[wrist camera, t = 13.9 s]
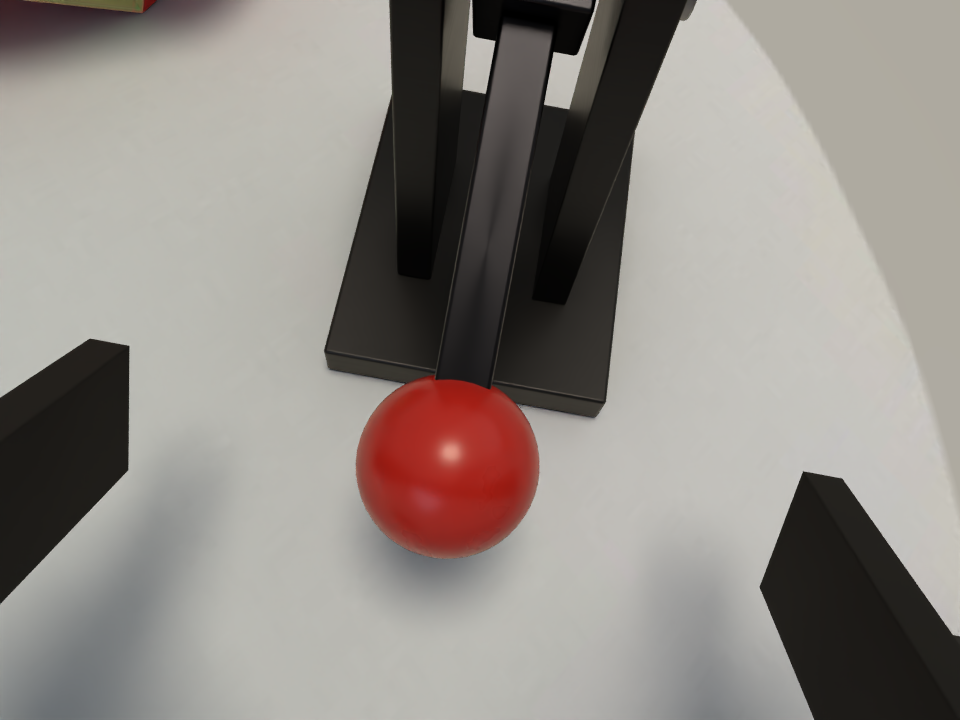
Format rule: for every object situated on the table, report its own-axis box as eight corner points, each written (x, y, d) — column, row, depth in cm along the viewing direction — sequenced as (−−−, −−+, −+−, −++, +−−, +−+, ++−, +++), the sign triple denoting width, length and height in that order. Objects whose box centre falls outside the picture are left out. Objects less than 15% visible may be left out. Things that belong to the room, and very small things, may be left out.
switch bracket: (596, 418, 23) (786, 140, 12) (327, 369, 23) (243, 39, 12) (626, 146, 27) (790, -269, 16) (396, 103, 27) (387, -348, 15)
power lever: (516, 543, 18) (526, 601, 14) (356, 514, 18) (325, 565, 14) (630, -60, 17) (671, -161, 13) (463, -91, 17) (459, -202, 13)
